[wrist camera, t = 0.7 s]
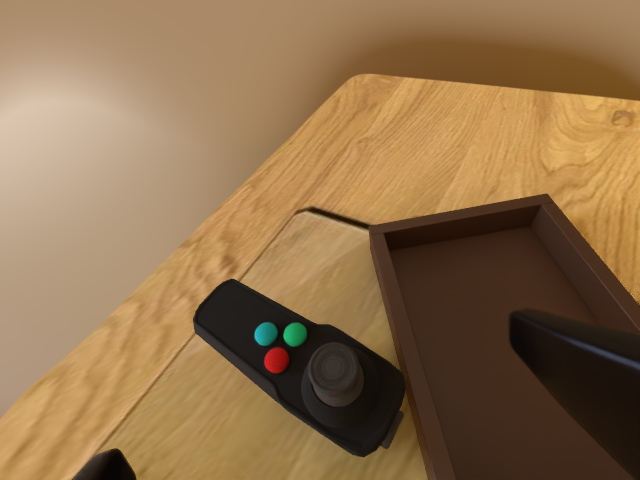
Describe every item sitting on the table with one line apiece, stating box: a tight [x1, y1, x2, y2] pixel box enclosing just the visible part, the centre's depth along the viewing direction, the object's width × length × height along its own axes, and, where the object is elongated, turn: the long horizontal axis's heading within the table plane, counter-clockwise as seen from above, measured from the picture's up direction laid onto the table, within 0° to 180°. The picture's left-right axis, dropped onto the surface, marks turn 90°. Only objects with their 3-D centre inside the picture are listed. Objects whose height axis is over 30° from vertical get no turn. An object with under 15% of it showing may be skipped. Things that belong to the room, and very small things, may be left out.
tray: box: [369, 194, 640, 480], centre depth 20 cm, size 20×14×3 cm
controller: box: [193, 279, 405, 457], centre depth 18 cm, size 4×12×10 cm, turn 56°
